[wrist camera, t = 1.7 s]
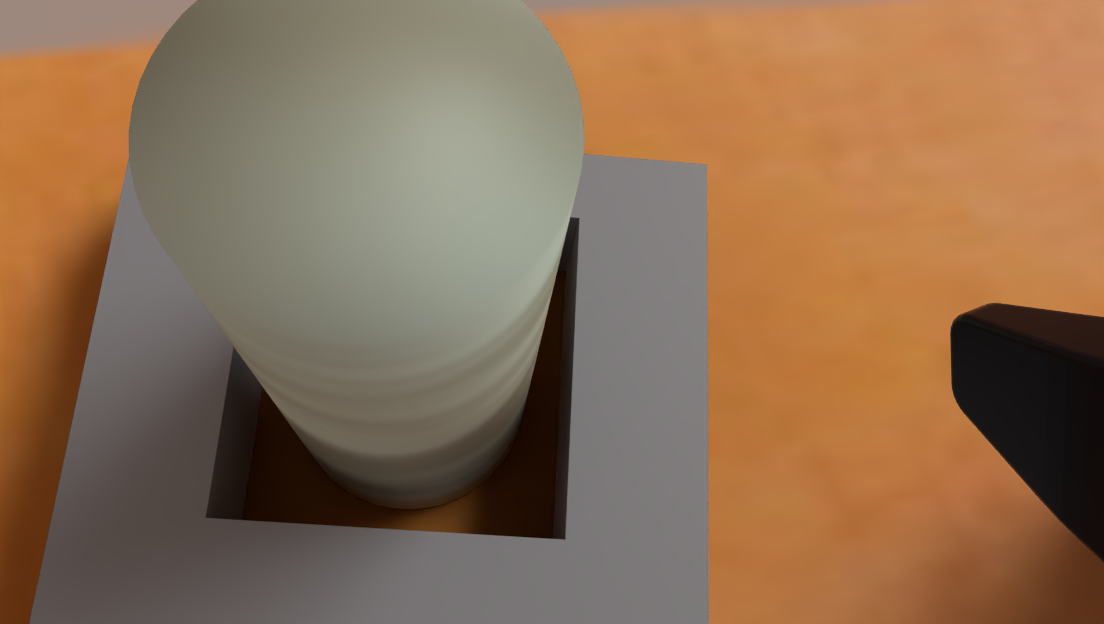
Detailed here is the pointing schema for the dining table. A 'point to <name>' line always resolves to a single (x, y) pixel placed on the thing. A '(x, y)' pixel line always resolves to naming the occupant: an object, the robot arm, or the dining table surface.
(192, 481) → the pocket board
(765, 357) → the dining table surface
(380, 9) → the peg
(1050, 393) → the robot arm
